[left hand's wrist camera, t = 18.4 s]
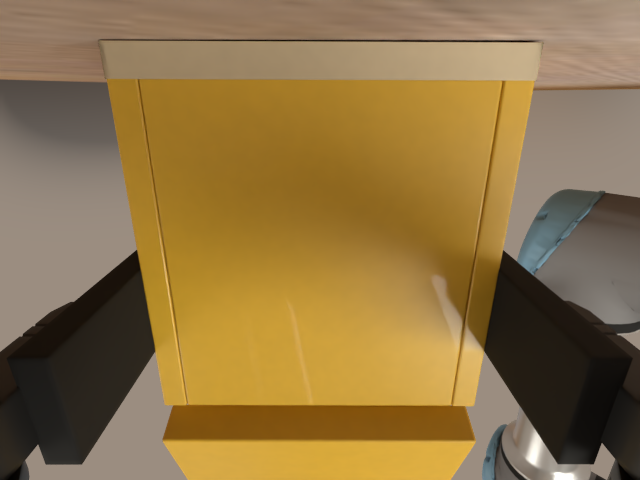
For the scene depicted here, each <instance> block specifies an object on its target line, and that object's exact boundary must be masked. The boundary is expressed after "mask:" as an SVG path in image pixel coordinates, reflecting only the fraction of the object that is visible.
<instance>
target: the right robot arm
mask: <svg viewBox="0 0 640 480" xmlns="http://www.w3.org/2000/svg"><path fill="white" fill-rule="evenodd" d="M517 262H518V263H519V264H520V265H522V266H523V267H524V268H525V269H526V270H528V271H529V272H530V273H531V274H532V275H534V276H535V277H536V278H537V279H538V280H540V281H541V282H542V283H543V284H544V285H546V286H547V287H548V288H549V289H550V290H552V291H553V292H554V293H555V294H556V295H558V296H559V297H560V298H561V299H562V300H564V301H571V302H573V303H575V304H577V305H579V306H581V307H583V308H585V309H587V310H589V311H591V312H592V313H593V314H594V315H596V316H597V317H598V318H599V319H601V320H602V321H603V322H604V324H605V325H608V326H610V327H611V328H612V329H613V330H615V331H616V332H617V335H621V336H622V337H623V336H626V335H631V334H634V333H637V332H639V331H640V198H638V197H631V196H624V195H617V194H610V193H605V191H599V192H594V191H583V190H573V189H566V190H561V191H559V192H557V193H555V194H553V195H552V196H551V197H550V198H549V199H548V200H547V201H546V202H545V204H544V205H543V206H542V207H541V209H540V210H539V212H538V214H537V215H536V217H535V219H534V221H533V222H532V224H531V226H530V229H529V231H528V232H527V235H526V237H525V239H524V242H523V244H522V247H521V250H520V253H519V256H518V259H517ZM482 478H483V480H605V479H604V478H602V477H600V476H598V475H597V474H595V473H593V472H591V467H590V464H557V463H556V461H555V459H554V458H553V456H552V455H551V453H550V452H549V450H548V449H547V447H546V446H545V444H544V442H543V441H542V439H541V438H540V436H539V435H538V433H537V432H536V430H535V429H534V427H533V426H532V424H531V422H530V421H529V419H528V418H527V416H526V415H525V413H524V412H523V410H522V409H521V407H520V408H519V413H518V418H517V420H515V421H513V422H511V423H510V424H509V425H506V424H505V425H501V426H500V427H499V428H498V429H497V430H496V431H495V433H494V434H493V436H492V438H491V440H490V443H489V445H488V448H487V451H486V458H485V460H484V463H483V471H482Z"/></svg>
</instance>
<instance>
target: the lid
mask: <svg viewBox="0 0 640 480" xmlns="http://www.w3.org/2000/svg"><path fill="white" fill-rule="evenodd" d="M163 443H164V444H165V446H166V447H167V449H168V450H169V452H170V453H171V455H172V456H173V458H174V459H175V461H176V462H177V464H178V465H179V467H180V468H181V470H182V472H183V473H184V475H185V476H186V478H187V479H188V480H451V478H452V477H453V475H454V474H455V472H456V471H457V469H458V468H459V466H460V465H461V463H462V462H463V461H464V459H465V458H466V456H467V454H468V453H469V452H470V450H471V449H472V447H473V446H474V444H475V443H476V439H475V436H474V433H473V429H472V426H471V423H470V419H469V416H468V413H467V409H466V407H465V406H354V405H174V406H173V407H172V410H171V414H170V417H169V420H168V423H167V427H166V430H165V433H164V436H163Z"/></svg>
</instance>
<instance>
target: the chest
mask: <svg viewBox="0 0 640 480" xmlns="http://www.w3.org/2000/svg"><path fill="white" fill-rule="evenodd" d="M98 42H99V48H100V53H101V59H102V65H103V70H104V76H105V79H107V83H108V89H109V94H110V100H111V106H112V111H113V117H114V122H115V128H116V134H117V139H118V145H119V151H120V156H121V162H122V167H123V173H124V178H125V184H126V190H127V196H128V201H129V207H130V212H131V218H132V224H133V229H134V235H135V241H136V246H137V252H138V257H139V263H140V269H141V274H142V280H143V285H144V291H145V297H146V302H147V308H148V313H149V319H150V324H151V330H152V335H153V341H154V346H155V353H156V358H157V364H158V370H159V375H160V380H161V387H162V392H163V398H164V403H165V405H187V403H188V404H189V405H354V406H450V405H451V404H452V406H474V403H475V397H476V392H477V387H478V381H479V376H480V370H481V365H482V360H483V354H484V349H485V344H486V338H487V333H488V327H489V322H490V316H491V311H492V306H493V300H494V295H495V289H496V284H497V278H498V273H499V269H500V264H501V258H502V253H503V247H504V242H505V237H506V231H507V226H508V220H509V215H510V210H511V205H512V199H513V194H514V189H515V183H516V178H517V173H518V167H519V162H520V156H521V151H522V146H523V141H524V135H525V130H526V124H527V119H528V114H529V108H530V103H531V98H532V92H533V87H534V82H535V81H536V79H537V74H538V69H539V63H540V58H541V53H542V48H543V42H336V41H116V40H99V41H98Z"/></svg>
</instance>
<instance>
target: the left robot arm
mask: <svg viewBox="0 0 640 480" xmlns="http://www.w3.org/2000/svg"><path fill="white" fill-rule="evenodd" d="M484 351H485V353H486V355H487V356H488V358H489V359H490V361H491V362H492V364H493V365H494V367H495V368H496V370H497V371H498V373H499V375H500V376H501V378H502V379H503V381H504V382H505V384H506V385H507V387H508V388H509V390H510V391H511V393H512V395H513V396H514V398H515V399H516V401H517V402H518V404H519V405H520V407H521V409H522V410H523V412H524V413H525V415H526V416H527V418H528V419H529V421H530V422H531V424H532V426H533V427H534V429H535V430H536V432H537V433H538V435H539V436H540V438H541V439H542V441H543V442H544V444H545V446H546V447H547V449H548V450H549V452H550V453H551V455H552V456H553V458H554V459H555V461H556V463H557V464H594V462H595V459H596V457H597V454H598V451H599V448H600V446H601V443H603V444H604V446H605V447H606V448H607V449H608V450H609V452H610V453H611V454H612V455H613V457H614V458H615V462H614V464H613V467H612V469H611V472H610V474H609V477H608V479H607V480H640V350H639V349H637V348H636V347H635V346H633V345H632V344H631V343H630V342H628V341H627V340H626V339H625V338H623V337H622V336H621V335H617V332H616V331H615V330H613V329H612V328H611V327H610V326H608V325H605V324H604V322H603V321H602V320H601V319H599V318H598V317H597V316H596V315H594V314H593V313H592V312H591V311H589V310H587V309H585V308H583V307H581V306H579V305H577V304H575V303H573V302H571V301H564V300H562V299H561V298H560V297H559V296H558V295H556V294H555V293H554V292H553V291H552V290H550V289H549V288H548V287H547V286H546V285H544V284H543V283H542V282H541V281H540V280H538V279H537V278H536V277H535V276H534V275H532V274H531V273H530V272H529V271H528V270H526V269H525V268H524V267H523V266H522V265H520V264H519V263H518V262H517V261H516V260H514V259H513V258H512V257H511V256H510V255H508V254H507V253H506V252H505V251H504V250H503V253H502V258H501V264H500V269H499V273H498V278H497V284H496V289H495V295H494V300H493V306H492V311H491V316H490V322H489V327H488V333H487V338H486V344H485V349H484ZM154 352H155V346H154V341H153V335H152V330H151V324H150V319H149V313H148V308H147V302H146V297H145V291H144V285H143V280H142V274H141V269H140V263H139V257H138V252H137V250H136V251H135V252H134V253H132V254H131V255H130V256H129V257H128V258H126V259H125V260H124V261H123V262H122V263H120V264H119V265H118V266H117V267H116V268H114V269H113V270H112V271H111V272H110V273H108V274H107V275H106V276H105V277H104V278H102V279H101V280H100V281H99V282H98V283H96V284H95V285H94V286H93V287H92V288H90V289H89V290H88V291H87V292H86V293H84V294H83V295H82V296H81V297H80V298H78V299H77V300H76V301H75V302H70V303H68V304H66V305H64V306H62V307H60V308H58V309H56V310H54V311H52V312H50V313H49V314H47V315H46V316H45V317H44V318H42V319H41V320H40V321H39V322H37V323H36V325H35V326H33V327H31V328H30V329H29V330H27V331H26V332H25V333H24V334H23V336H22V337H19V338H17V339H16V340H15V341H13V342H12V343H11V344H10V345H8V346H7V347H6V348H5V349H3V350H2V351H1V352H0V480H29V471H28V467H27V464H26V462H25V459H26V458H27V457H28V456H29V455H30V453H31V452H32V451H33V450H34V448H35V447H36V446H37V445H39V447H40V450H41V453H42V455H43V458H44V461H45V464H82V463H83V462H84V460H85V459H86V457H87V456H88V454H89V453H90V451H91V449H92V448H93V446H94V445H95V443H96V442H97V440H98V439H99V437H100V436H101V434H102V432H103V431H104V430H105V428H106V426H107V425H108V423H109V422H110V420H111V419H112V417H113V416H114V414H115V412H116V411H117V409H118V408H119V406H120V405H121V403H122V402H123V400H124V399H125V397H126V396H127V394H128V393H129V391H130V389H131V388H132V386H133V385H134V383H135V382H136V380H137V379H138V377H139V376H140V374H141V372H142V371H143V369H144V368H145V366H146V365H147V363H148V362H149V360H150V359H151V357H152V356H153V354H154Z"/></svg>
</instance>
